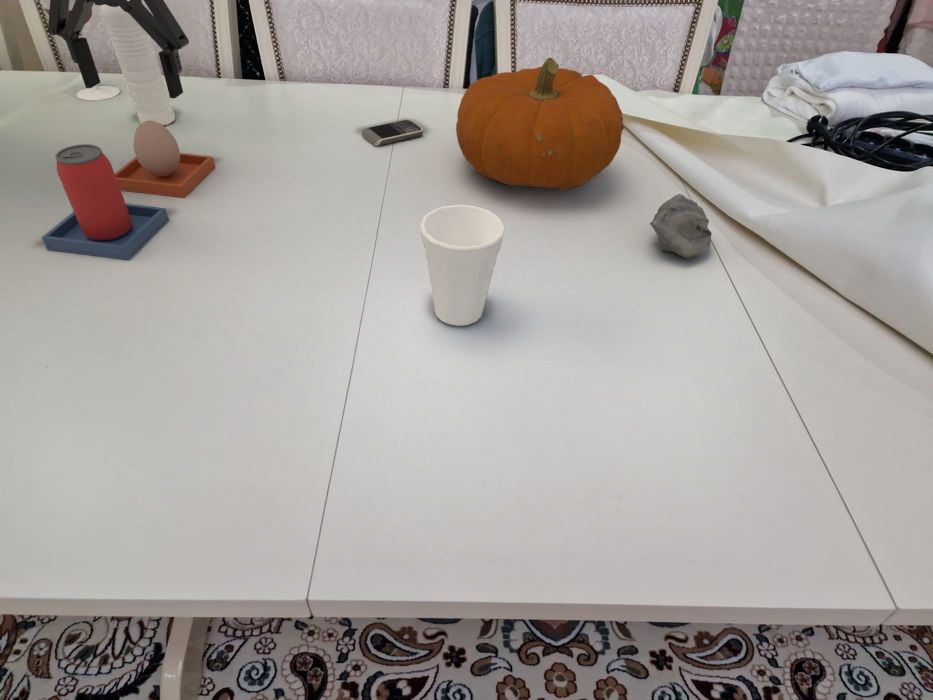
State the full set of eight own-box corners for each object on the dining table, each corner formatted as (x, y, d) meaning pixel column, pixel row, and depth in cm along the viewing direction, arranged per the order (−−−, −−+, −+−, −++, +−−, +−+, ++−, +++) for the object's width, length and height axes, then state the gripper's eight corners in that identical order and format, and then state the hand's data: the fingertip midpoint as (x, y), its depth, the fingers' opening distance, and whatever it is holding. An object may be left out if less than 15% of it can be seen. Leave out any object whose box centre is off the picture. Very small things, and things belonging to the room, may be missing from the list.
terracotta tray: (112, 189, 100) (108, 178, 98) (149, 159, 108) (145, 149, 107) (184, 197, 99) (181, 186, 98) (215, 167, 107) (212, 156, 106)
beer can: (84, 223, 91) (51, 145, 83) (133, 216, 93) (105, 139, 85) (83, 246, 87) (48, 166, 78) (134, 238, 89) (105, 159, 81)
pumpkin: (627, 163, 116) (654, 50, 103) (586, 230, 97) (612, 102, 84) (489, 131, 124) (497, 23, 111) (426, 187, 105) (427, 64, 92)
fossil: (674, 275, 89) (690, 227, 84) (626, 247, 94) (638, 200, 89) (719, 251, 94) (736, 204, 89) (671, 226, 100) (685, 180, 94)
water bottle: (135, 128, 118) (82, -20, 100) (145, 113, 122) (95, -31, 105) (182, 127, 118) (137, -20, 101) (190, 113, 123) (148, -30, 106)
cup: (436, 345, 75) (438, 255, 67) (409, 298, 82) (407, 211, 73) (509, 327, 79) (520, 239, 70) (477, 283, 85) (483, 198, 76)
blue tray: (47, 249, 86) (41, 237, 85) (94, 210, 95) (89, 199, 93) (129, 260, 86) (124, 247, 84) (169, 219, 94) (165, 208, 92)
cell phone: (425, 136, 121) (425, 129, 120) (375, 148, 116) (375, 140, 115) (409, 125, 125) (409, 118, 124) (360, 136, 120) (359, 129, 119)
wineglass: (89, 83, 133) (47, -34, 118) (130, 88, 132) (94, -30, 118) (63, 98, 127) (16, -25, 112) (107, 102, 126) (65, -20, 111)
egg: (149, 166, 105) (132, 113, 99) (189, 166, 106) (175, 113, 100) (138, 184, 100) (119, 130, 94) (180, 184, 101) (164, 130, 95)
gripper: (190, -70, 83) (222, 91, 97) (17, -87, 85) (73, 73, 99) (162, -60, 77) (200, 108, 92) (-23, -80, 79) (43, 89, 93)
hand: (135, 90), depth 95 cm, fingers open, 13 cm apart
